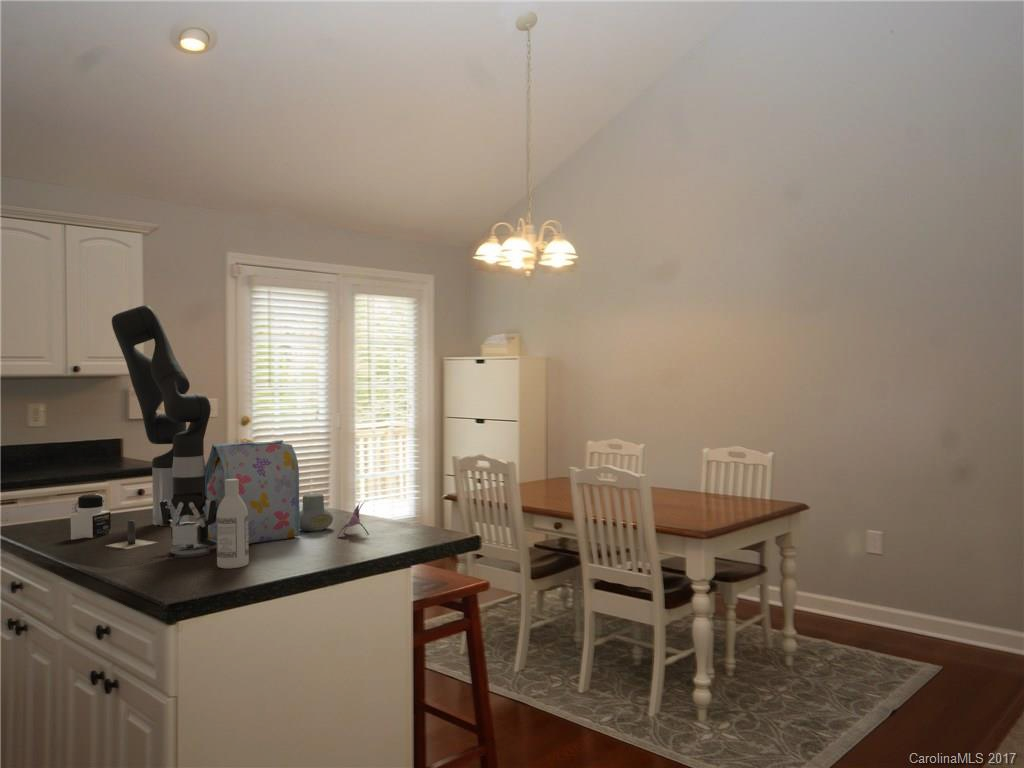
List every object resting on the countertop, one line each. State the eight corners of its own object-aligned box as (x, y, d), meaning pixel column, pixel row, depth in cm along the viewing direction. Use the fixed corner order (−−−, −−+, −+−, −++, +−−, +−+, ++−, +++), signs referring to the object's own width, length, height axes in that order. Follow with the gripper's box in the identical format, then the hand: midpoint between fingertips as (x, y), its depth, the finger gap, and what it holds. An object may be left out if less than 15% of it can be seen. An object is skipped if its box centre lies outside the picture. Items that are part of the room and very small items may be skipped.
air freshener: (302, 534, 223) (302, 498, 223) (289, 530, 230) (288, 495, 230) (337, 529, 231) (337, 494, 230) (323, 525, 237) (323, 491, 237)
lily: (360, 533, 230) (343, 504, 229) (390, 519, 225) (372, 490, 224) (337, 554, 220) (319, 524, 219) (368, 540, 214) (349, 510, 213)
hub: (193, 548, 206) (192, 529, 206) (217, 552, 201) (216, 532, 201) (162, 555, 198) (162, 535, 198) (186, 559, 193) (186, 538, 193)
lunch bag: (275, 530, 231) (274, 437, 231) (305, 537, 219) (304, 440, 219) (198, 541, 215) (196, 442, 215) (226, 550, 203) (225, 445, 203)
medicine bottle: (93, 541, 217) (92, 496, 217) (70, 540, 219) (69, 496, 218) (111, 536, 224) (110, 493, 224) (89, 535, 226) (88, 492, 225)
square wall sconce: (182, 539, 202) (182, 522, 202) (206, 539, 202) (206, 521, 202) (172, 544, 196) (172, 526, 196) (197, 544, 196) (196, 526, 196)
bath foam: (238, 561, 191) (237, 476, 191) (254, 565, 187) (253, 479, 186) (211, 566, 186) (210, 480, 186) (227, 570, 181) (226, 482, 181)
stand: (136, 543, 214) (136, 516, 214) (158, 546, 209) (157, 519, 209) (104, 549, 206) (104, 522, 206) (126, 552, 202) (126, 524, 202)
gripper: (223, 472, 203) (224, 538, 203) (166, 472, 203) (167, 539, 203) (212, 475, 196) (213, 544, 196) (153, 476, 196) (154, 545, 196)
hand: (189, 541), depth 200 cm, fingers closed on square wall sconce, 6 cm apart
